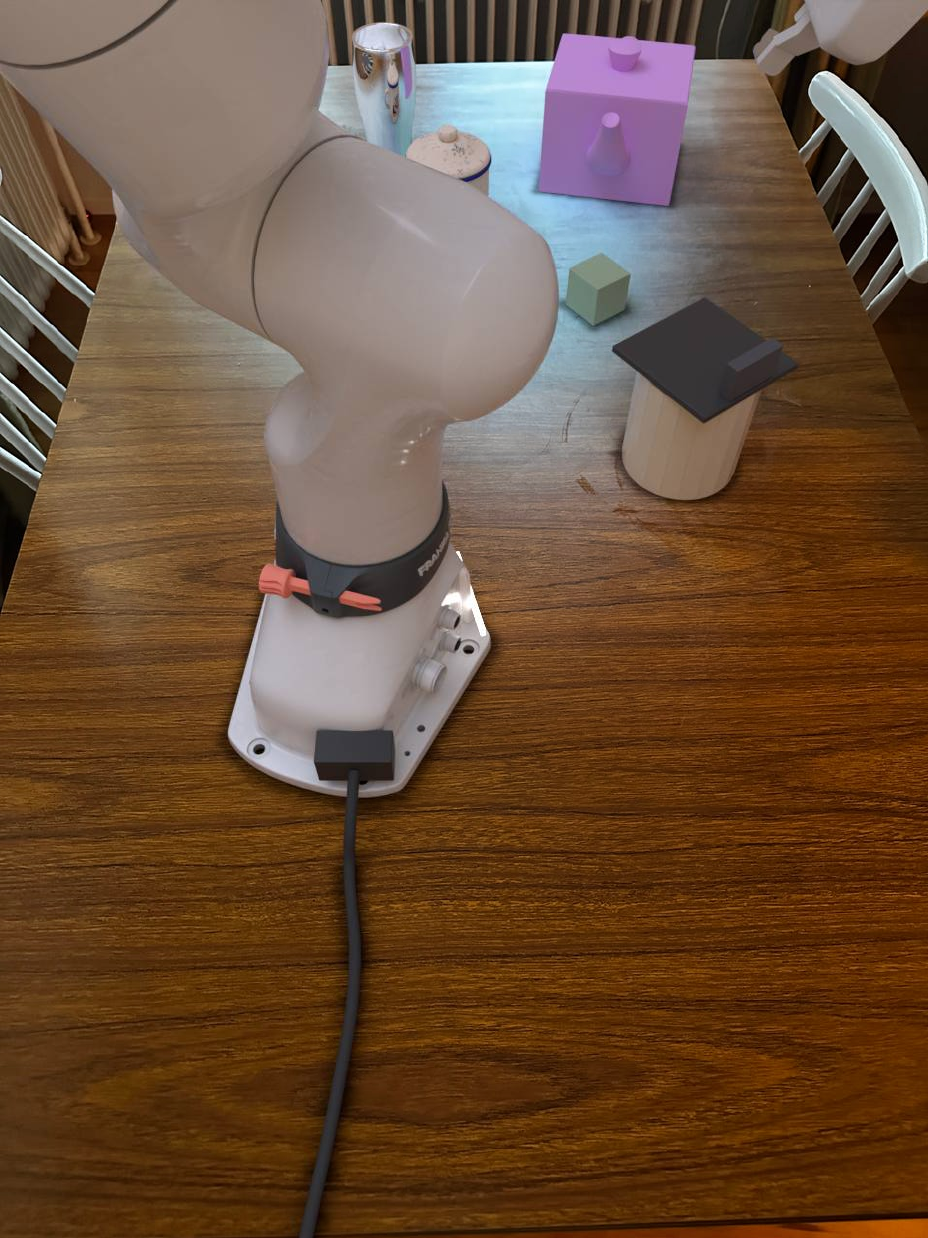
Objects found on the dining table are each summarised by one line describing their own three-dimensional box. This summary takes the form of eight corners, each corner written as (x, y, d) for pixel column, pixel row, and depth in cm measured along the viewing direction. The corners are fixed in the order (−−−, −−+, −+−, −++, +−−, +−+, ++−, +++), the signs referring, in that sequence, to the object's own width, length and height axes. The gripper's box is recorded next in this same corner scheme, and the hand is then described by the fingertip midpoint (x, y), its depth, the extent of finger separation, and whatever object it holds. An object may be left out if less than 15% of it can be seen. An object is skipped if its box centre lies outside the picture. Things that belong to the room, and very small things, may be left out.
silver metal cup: (353, 162, 115) (340, 28, 103) (406, 149, 117) (399, 15, 104) (374, 192, 111) (363, 56, 99) (429, 178, 113) (425, 43, 101)
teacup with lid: (493, 210, 109) (496, 107, 100) (485, 258, 104) (487, 155, 94) (390, 204, 110) (382, 101, 100) (377, 251, 105) (368, 147, 95)
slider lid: (797, 368, 77) (810, 332, 74) (703, 424, 73) (713, 388, 70) (703, 302, 82) (712, 265, 79) (611, 351, 78) (617, 314, 75)
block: (625, 310, 99) (631, 273, 95) (593, 326, 97) (598, 289, 94) (596, 288, 101) (601, 252, 97) (565, 304, 99) (569, 267, 96)
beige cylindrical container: (758, 466, 86) (792, 371, 77) (676, 517, 83) (702, 424, 74) (679, 404, 91) (702, 307, 82) (598, 450, 87) (614, 354, 78)
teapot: (528, 226, 107) (536, 100, 96) (560, 113, 121) (570, -9, 110) (663, 242, 106) (688, 115, 94) (679, 125, 120) (702, 2, 108)
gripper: (839, -369, 52) (676, -121, 63) (947, -112, 45) (743, 114, 57) (914, -310, 55) (746, -83, 66) (1026, -61, 48) (818, 144, 60)
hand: (745, 10), depth 61 cm, fingers open, 8 cm apart
